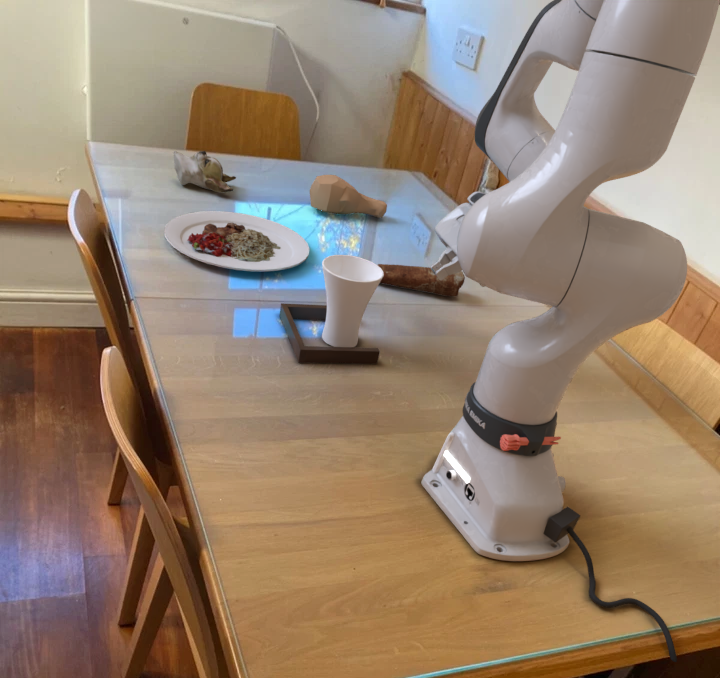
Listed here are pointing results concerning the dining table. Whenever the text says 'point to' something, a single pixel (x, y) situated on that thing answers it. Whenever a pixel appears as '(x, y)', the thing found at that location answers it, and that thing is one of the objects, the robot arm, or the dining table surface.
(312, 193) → the tan chicken drumstick
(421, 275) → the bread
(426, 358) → the dining table surface
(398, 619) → the dining table surface
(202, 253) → the plated food
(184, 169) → the ceramic sculpture
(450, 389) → the dining table surface
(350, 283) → the cup
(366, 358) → the dark brown flat frame
